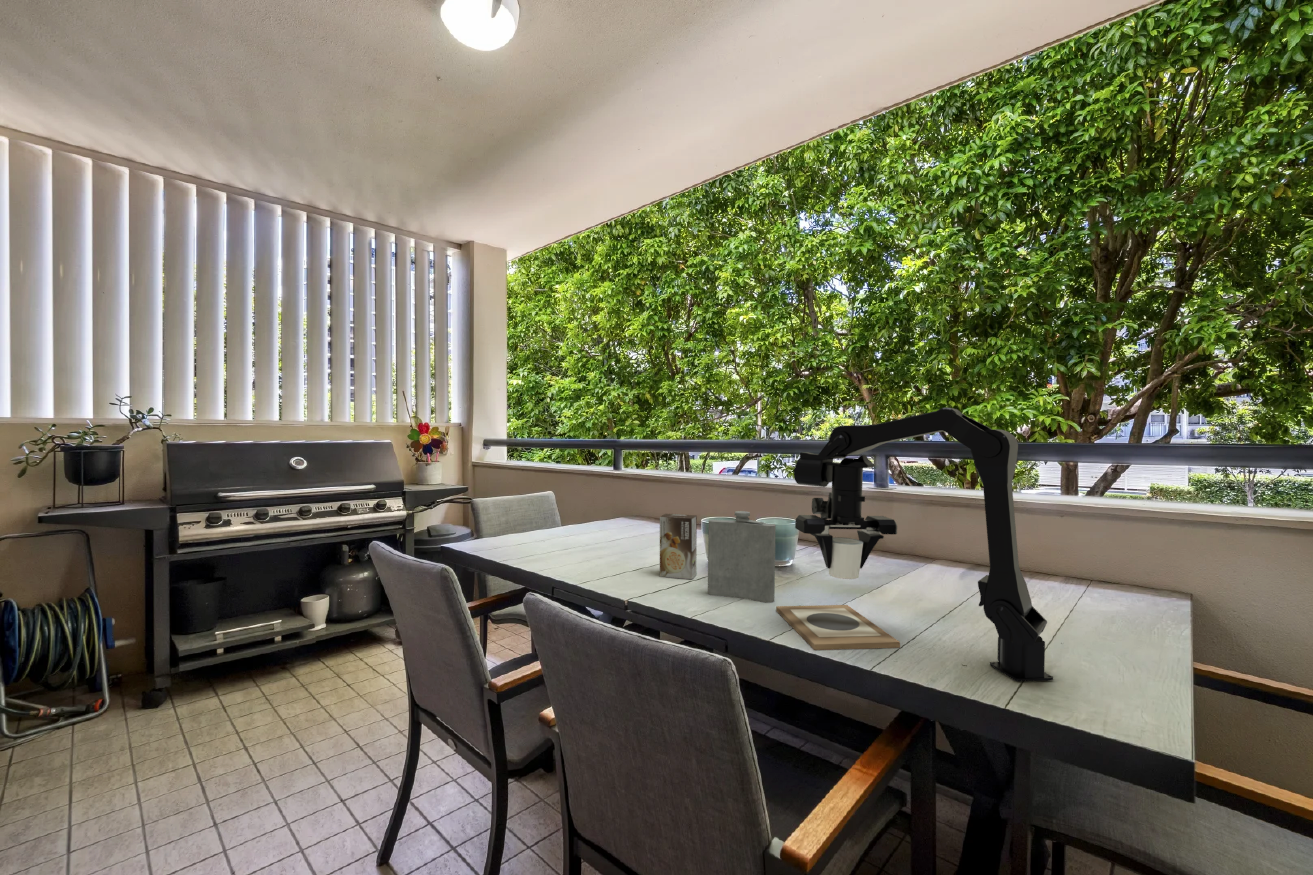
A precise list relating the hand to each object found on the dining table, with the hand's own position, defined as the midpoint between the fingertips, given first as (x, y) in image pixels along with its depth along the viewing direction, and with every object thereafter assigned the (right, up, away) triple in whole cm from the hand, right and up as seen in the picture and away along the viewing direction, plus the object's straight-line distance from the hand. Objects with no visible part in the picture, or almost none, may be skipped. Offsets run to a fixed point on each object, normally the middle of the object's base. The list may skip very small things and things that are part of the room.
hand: (844, 567), depth 113 cm
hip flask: (-17, -12, +21) cm, 30 cm away
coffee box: (-31, -11, +40) cm, 52 cm away
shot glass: (0, -2, 0) cm, 2 cm away
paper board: (-2, -12, 0) cm, 12 cm away
